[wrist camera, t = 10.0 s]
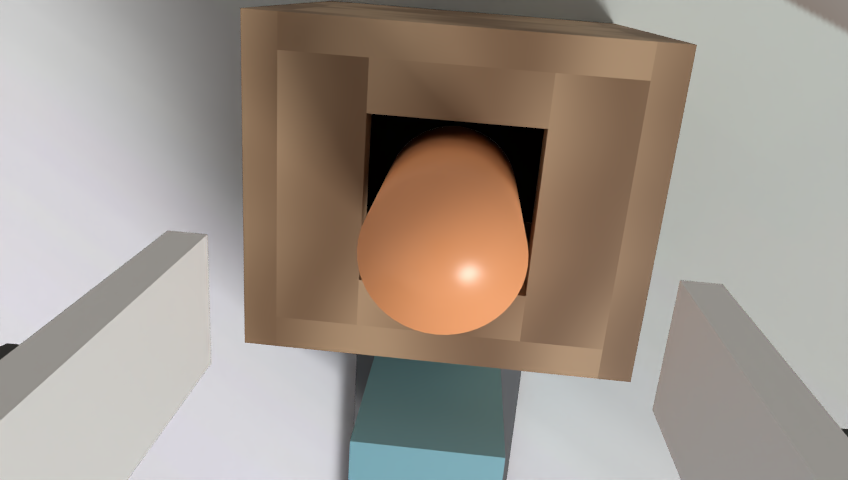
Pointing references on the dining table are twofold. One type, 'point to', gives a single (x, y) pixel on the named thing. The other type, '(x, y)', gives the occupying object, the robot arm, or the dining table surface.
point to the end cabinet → (468, 102)
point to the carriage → (428, 423)
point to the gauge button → (445, 234)
